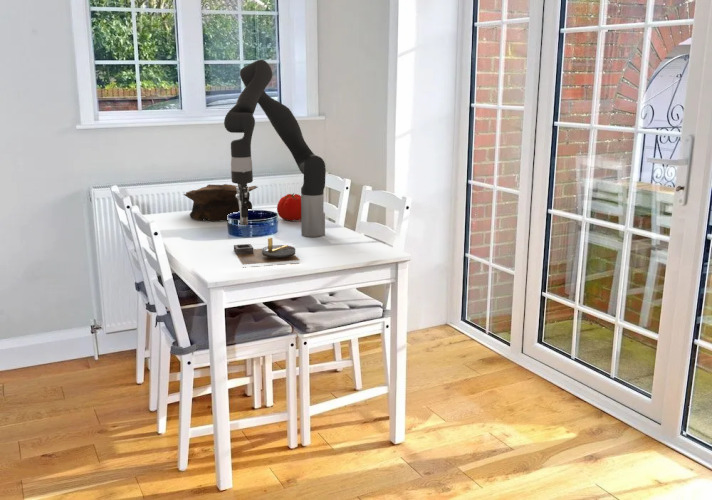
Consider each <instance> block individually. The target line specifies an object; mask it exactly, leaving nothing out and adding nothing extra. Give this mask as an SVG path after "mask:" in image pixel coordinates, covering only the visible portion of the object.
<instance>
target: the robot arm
mask: <svg viewBox="0 0 712 500" xmlns="http://www.w3.org/2000/svg"><path fill="white" fill-rule="evenodd" d="M239 76H240V80H241V81H242V83H243V85H244V86H245V88H244V89H242V91H241V92H240V94H239V95H238V98H237V101H236V103H235V105H233V107H231V108H230V109H229V111H228V112H227V113H226V115H225V117H224V122H223V125H224V128H225V130H226V131H227V132H229V133H232V134H236V133H237V134H238V133H239V134H241V133H243V136H242V138H238V139H233V140H231V142H230V155H231V156H230V157H231V158H230V173H231V183H232V184H237V186H238V187H236V191H237V195H238V194H239V198H237V199H238V204H239V201H240V202H241V217H242V218H247V217H248V218H249V214H248V209H247V207H248V206H249V201H250V197H249V194H251V193H250V191H249V188H248V187H249V186H248V184H251V183H253V181H254V180H253V179H254V175H253V173H254V172H253V161H252V139H253V133H254V129H255V125H256V119H255V116H254V113H255V111H256V107H257V105H259V106H260V108H261V109H262V111H263V113H264V114H265V115H266V117H267V118H268V121H269V122H270V123H271V125H272V127H273V129H274V131H275V132H276V133H277V135H278V136H279V138H280V139H281V141H282V142H283V143H284V145H285V147H287V149H288V151H290V154H291V155H292V157H293V160H294V162H295V163H296V165H297V168H298V169H299V171H300V173H301V174H302V175H303V182H302V183H303V184H302V186H301V188H300V196H301V220H300V223H301V224H300V225H301V226H300V228H301V229H300V230H301V231H300V232H301V233H300V234H301V236H303V237H307V238H314V237H315V238H317V237H323V236H326V213H325V210H324V209H325V208H324V190H325V187H326V176H327V175H326V171H327V170H326V163H325V160H324V159H323V158H322V157H320V156H319V155H316V154H315V153H314V152H313V151H312V150H311V148H310V147H309V145H308V144H307V142H306V141H305V139H304V136H303V132H302V130H301V127H300V125H299V122H298V120H297V119H296V117H295V115H294V114H293V112H292V111H291V109H290V108H289V107H288V106H286V105H285V104H284V103H281V102H280V101H278V100H277V99H274V98H273V97H271V96H270V95H268V94H267V93H266V91H265V89H266V88H267V86H268V85H269V84H270V82H271V80H272V79H273V69H272V68H271V66H270V65H269V63H268V62H267V61H266V60H264V59H258V60H255V61H253V62H251V63H249V64H248V65H246V66H244V67H242V68H241V69H240V70H239ZM241 198H242V199H241ZM244 202H246V203H244Z"/></svg>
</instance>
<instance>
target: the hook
mask: <svg viewBox="0 0 712 500" xmlns="http://www.w3.org/2000/svg"><path fill="white" fill-rule="evenodd" d="M250 194H251V193H250ZM250 194H249V198H250V197H251V195H250ZM236 198H239V194H238V195H236ZM241 199H242V198H241ZM244 203H246V202H244ZM239 209H240V218H239V225H240V226H248V225H249V219H248V218H249V216H248V217H247V218H242V217H241V202H240V201H239Z"/></svg>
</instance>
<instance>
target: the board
mask: <svg viewBox="0 0 712 500" xmlns="http://www.w3.org/2000/svg"><path fill="white" fill-rule="evenodd" d="M233 252H234V254H235V255H236V257H237V258H238V259H239V261H240V263H241V264H242V265H251V264H252V265H253V264H268V263H278V262H279V263H280V264H278V266H283V265H284V266H285V263H284V264H282V263H281V262H293V261H295V262H296V261H300V258H299V257H297V255H296V254H295V255H293V256H289V257H281V258H274V257H267V256H264V255H262V248H254V246H253V245H252V244H251V243H245V244H243V243H242V244H233ZM295 262H294V263H291V265H294V264H295V265H296V264H297V265H298V262H296V263H295ZM268 266H269V267H270V266H272V264H269V265H265V267H268ZM244 267H245V266H243V267H242V268H244ZM256 267H259V265H258V266H257V265H253V266H252V268H256Z"/></svg>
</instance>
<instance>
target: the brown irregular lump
mask: <svg viewBox="0 0 712 500" xmlns="http://www.w3.org/2000/svg"><path fill="white" fill-rule="evenodd" d="M236 187H238V185H234V184H227V183H225V184H207V185H206V186H203V187H201V188H198V189H193V190H190V191H187V192H185V193H184V194H182V195H183V196H185V197H186V198H188V199H190V200H192V202H193V203H192V209H191V212H190V213H189V217H190V218H191V219H194V220H197V221H209V222H210V221H212V222H215V221H216V222H220V220H226V221H228V220H227V215H228V214H230V213H233V212H238V211H240V209H239V204H238V199H237V198H236V195H237V191H236ZM247 187H248V188H249V192H252V191H253V190H256V189H257V188H259V186H257V185H251V186H247ZM247 209H252V210H253V204H252V202H251V201H250V200H249V206H248V207H247ZM203 219H204V220H203ZM208 219H209V220H208Z"/></svg>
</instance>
